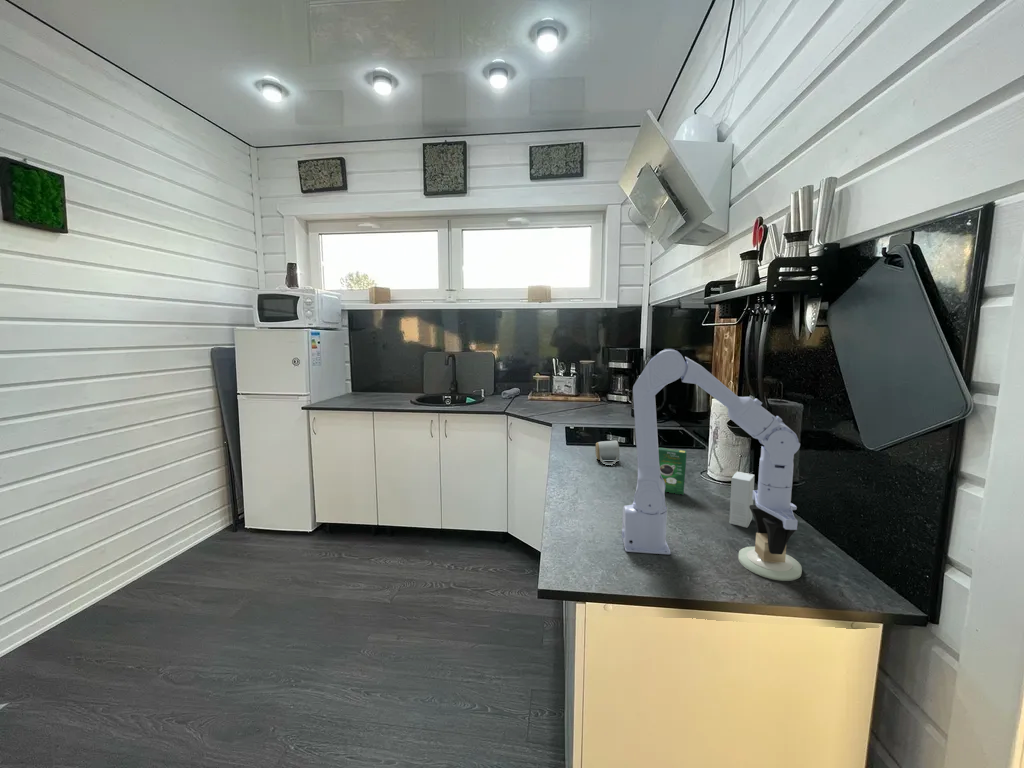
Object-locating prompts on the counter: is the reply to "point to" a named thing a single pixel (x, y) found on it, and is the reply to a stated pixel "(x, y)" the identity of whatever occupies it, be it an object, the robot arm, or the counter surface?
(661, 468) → the coffee box
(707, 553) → the counter surface
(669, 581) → the counter surface
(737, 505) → the skincare box
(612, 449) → the ceramic mug
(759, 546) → the block
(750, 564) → the dish
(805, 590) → the counter surface
